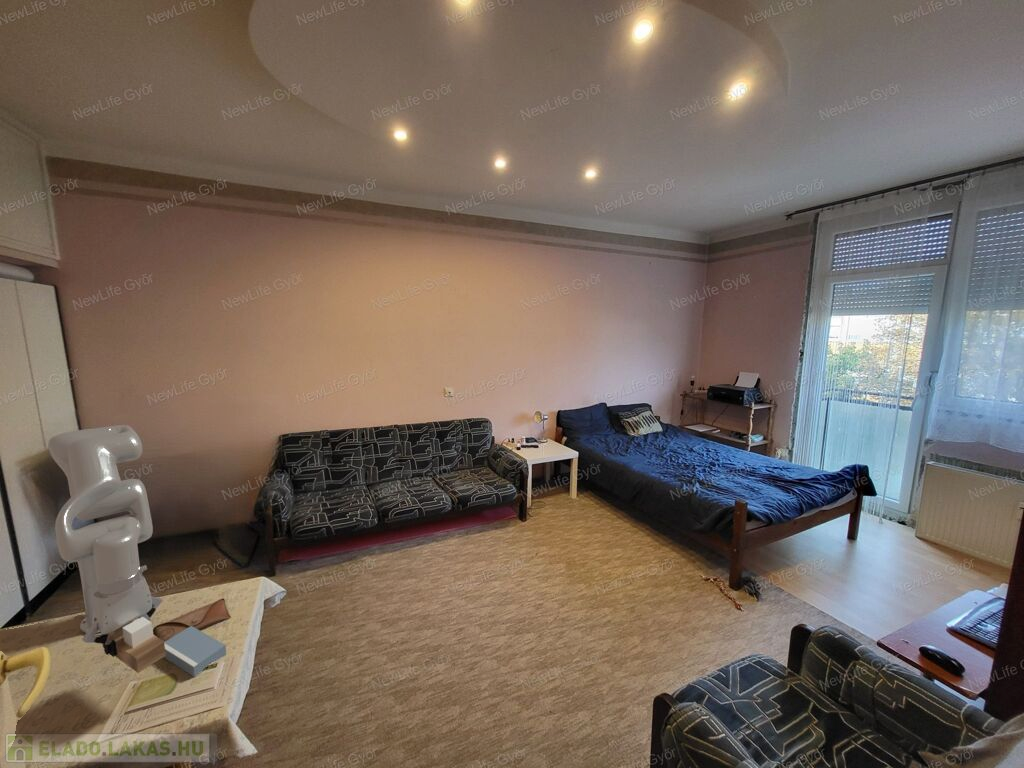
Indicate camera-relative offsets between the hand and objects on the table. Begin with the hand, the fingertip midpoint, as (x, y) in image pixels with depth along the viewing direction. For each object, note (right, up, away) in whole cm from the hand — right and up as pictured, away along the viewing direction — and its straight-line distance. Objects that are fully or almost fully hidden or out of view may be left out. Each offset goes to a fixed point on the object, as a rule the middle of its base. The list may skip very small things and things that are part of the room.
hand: (128, 644), depth 100 cm
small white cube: (+4, +2, -2) cm, 5 cm away
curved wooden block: (+2, -1, -1) cm, 3 cm away
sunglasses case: (0, -9, +21) cm, 23 cm away
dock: (+7, -10, +11) cm, 17 cm away
